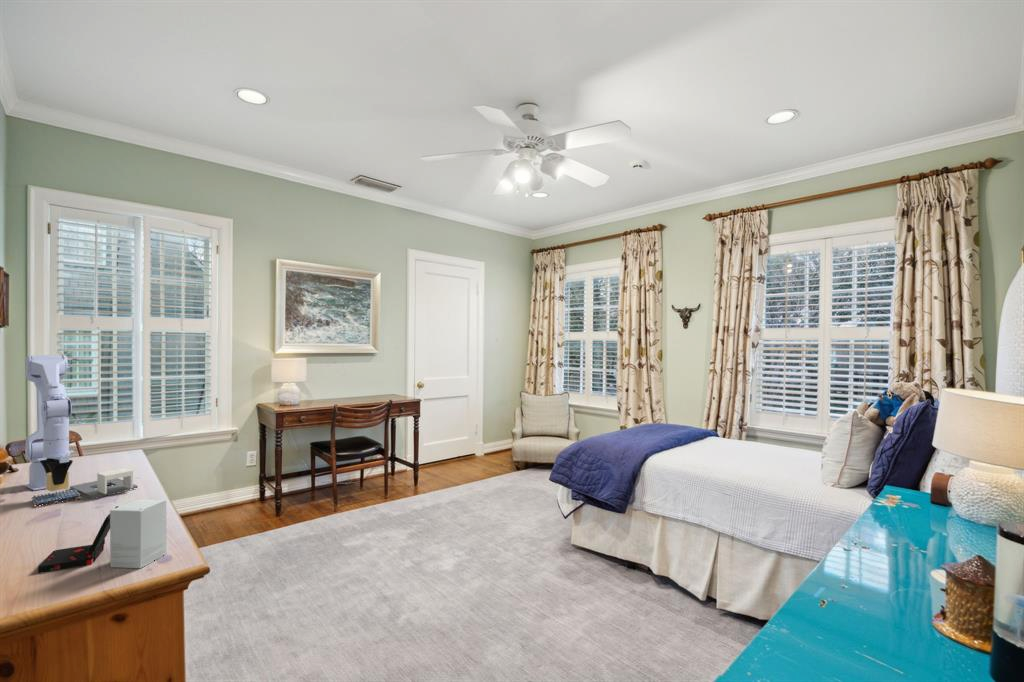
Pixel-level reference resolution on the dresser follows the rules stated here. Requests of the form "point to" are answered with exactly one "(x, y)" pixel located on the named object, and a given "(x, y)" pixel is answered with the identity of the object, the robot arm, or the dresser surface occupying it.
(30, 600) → the dresser surface
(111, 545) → the supplement box
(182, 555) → the dresser surface
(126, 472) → the cover
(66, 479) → the ochre block
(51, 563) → the handheld gaming console
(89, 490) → the puzzle board
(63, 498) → the woven mat
